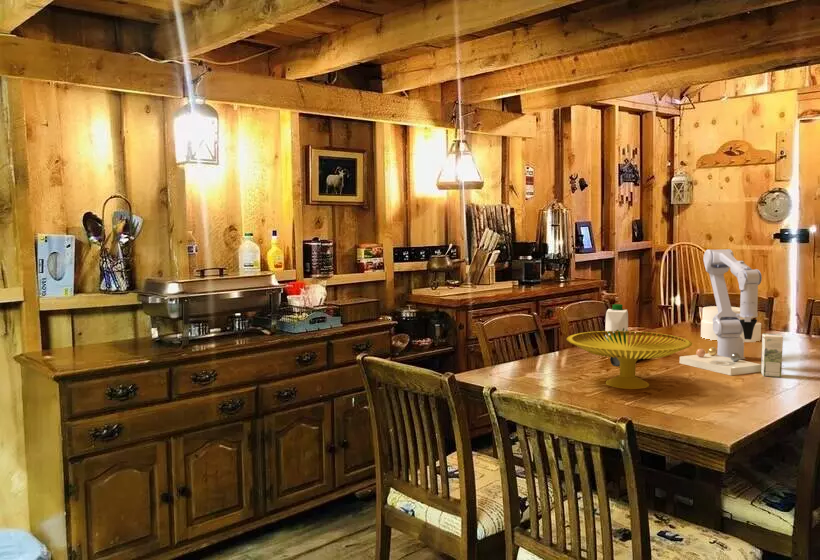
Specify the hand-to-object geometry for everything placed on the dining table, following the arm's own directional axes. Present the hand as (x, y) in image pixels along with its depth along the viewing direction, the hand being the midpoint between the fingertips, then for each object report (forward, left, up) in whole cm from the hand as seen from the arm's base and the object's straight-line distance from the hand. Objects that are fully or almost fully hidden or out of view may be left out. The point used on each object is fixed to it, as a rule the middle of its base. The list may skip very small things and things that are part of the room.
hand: (748, 339), depth 258 cm
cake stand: (+57, +2, -11) cm, 58 cm away
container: (-44, -48, -11) cm, 66 cm away
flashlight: (+32, -26, -11) cm, 43 cm away
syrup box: (+4, +14, -11) cm, 18 cm away
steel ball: (+6, 0, -6) cm, 9 cm away
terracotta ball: (+10, -12, -6) cm, 17 cm away
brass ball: (+4, -12, -6) cm, 14 cm away
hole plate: (+9, -4, -10) cm, 15 cm away
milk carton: (+25, -42, -11) cm, 50 cm away
